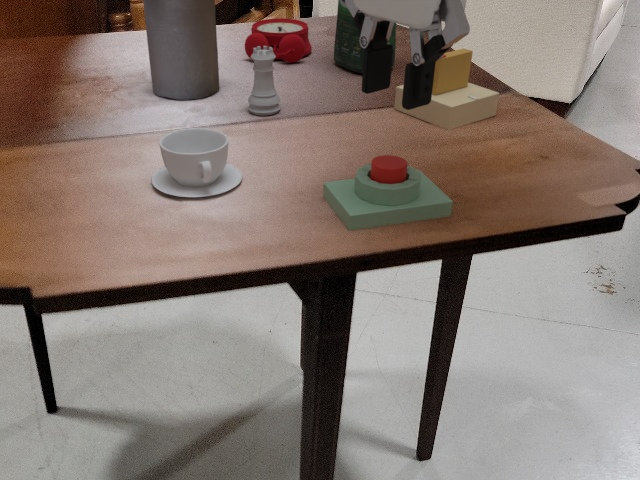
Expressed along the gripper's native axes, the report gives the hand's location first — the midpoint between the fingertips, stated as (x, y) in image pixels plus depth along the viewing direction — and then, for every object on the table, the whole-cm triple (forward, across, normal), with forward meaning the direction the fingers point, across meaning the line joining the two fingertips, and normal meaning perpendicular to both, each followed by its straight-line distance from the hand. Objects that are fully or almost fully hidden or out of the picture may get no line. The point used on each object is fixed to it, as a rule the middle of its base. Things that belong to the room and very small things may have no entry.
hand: (395, 96), depth 69 cm
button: (+8, 0, 0) cm, 8 cm away
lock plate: (+11, +16, -26) cm, 32 cm away
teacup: (+12, +17, +12) cm, 24 cm away
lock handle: (+8, +16, -25) cm, 31 cm away
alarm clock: (+12, +51, -24) cm, 57 cm away
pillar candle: (+12, +45, -2) cm, 47 cm away
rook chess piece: (+12, +31, -6) cm, 34 cm away
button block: (+11, 0, 0) cm, 11 cm away
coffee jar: (+12, +38, -30) cm, 50 cm away
